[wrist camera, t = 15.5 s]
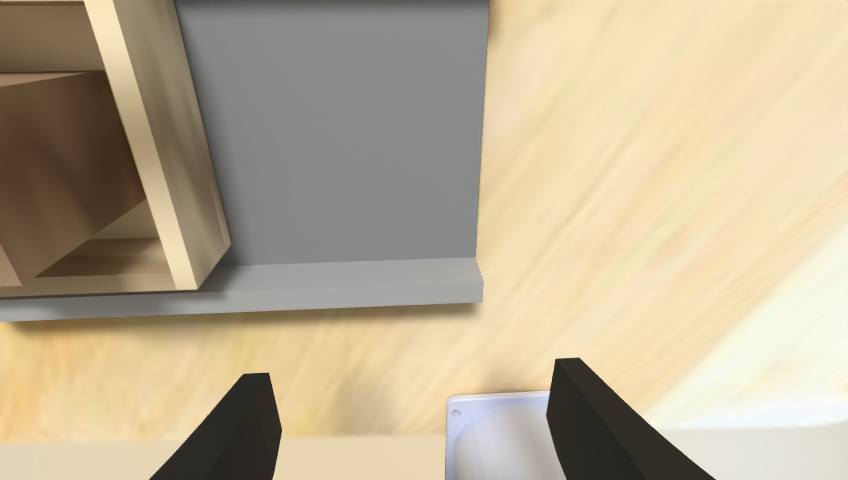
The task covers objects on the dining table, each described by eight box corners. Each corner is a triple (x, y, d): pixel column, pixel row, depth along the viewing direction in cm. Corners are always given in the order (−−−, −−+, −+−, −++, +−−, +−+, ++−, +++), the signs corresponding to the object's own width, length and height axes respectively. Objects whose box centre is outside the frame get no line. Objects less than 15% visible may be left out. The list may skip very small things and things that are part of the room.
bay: (470, 265, 20) (486, 316, 17) (-17, 283, 19) (-112, 342, 15) (488, -92, 14) (520, -131, 10) (-231, -97, 13) (-470, -143, 9)
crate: (231, 244, 18) (197, 289, 15) (-6, 252, 17) (-91, 300, 14) (168, -20, 13) (102, -32, 10) (-149, -19, 13) (-315, -33, 10)
